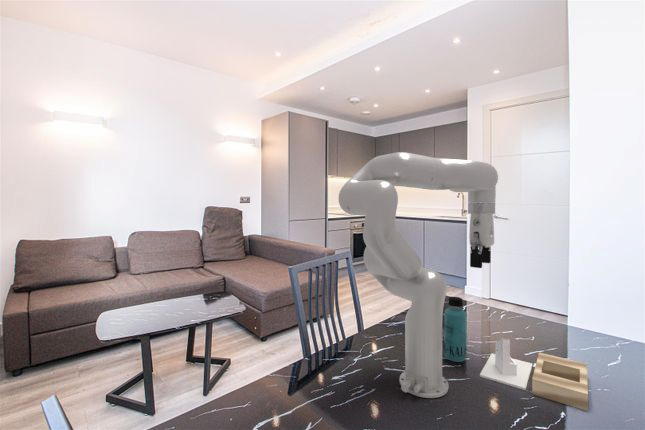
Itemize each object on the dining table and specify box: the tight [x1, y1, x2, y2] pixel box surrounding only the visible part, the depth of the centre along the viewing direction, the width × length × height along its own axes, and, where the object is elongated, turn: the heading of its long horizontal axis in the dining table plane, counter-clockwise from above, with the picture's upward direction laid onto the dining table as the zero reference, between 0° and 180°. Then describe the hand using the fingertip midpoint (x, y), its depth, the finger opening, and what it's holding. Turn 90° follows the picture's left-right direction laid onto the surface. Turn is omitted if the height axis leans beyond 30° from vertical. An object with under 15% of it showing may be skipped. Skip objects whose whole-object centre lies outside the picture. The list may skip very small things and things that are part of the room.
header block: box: [531, 352, 589, 412], centre depth 86 cm, size 18×11×4 cm, turn 142°
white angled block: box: [494, 338, 517, 376], centre depth 93 cm, size 4×10×9 cm, turn 170°
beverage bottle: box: [443, 296, 467, 363], centre depth 99 cm, size 6×7×20 cm
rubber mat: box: [479, 353, 533, 391], centre depth 94 cm, size 16×11×1 cm
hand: (480, 265), depth 99 cm, fingers open, 9 cm apart
